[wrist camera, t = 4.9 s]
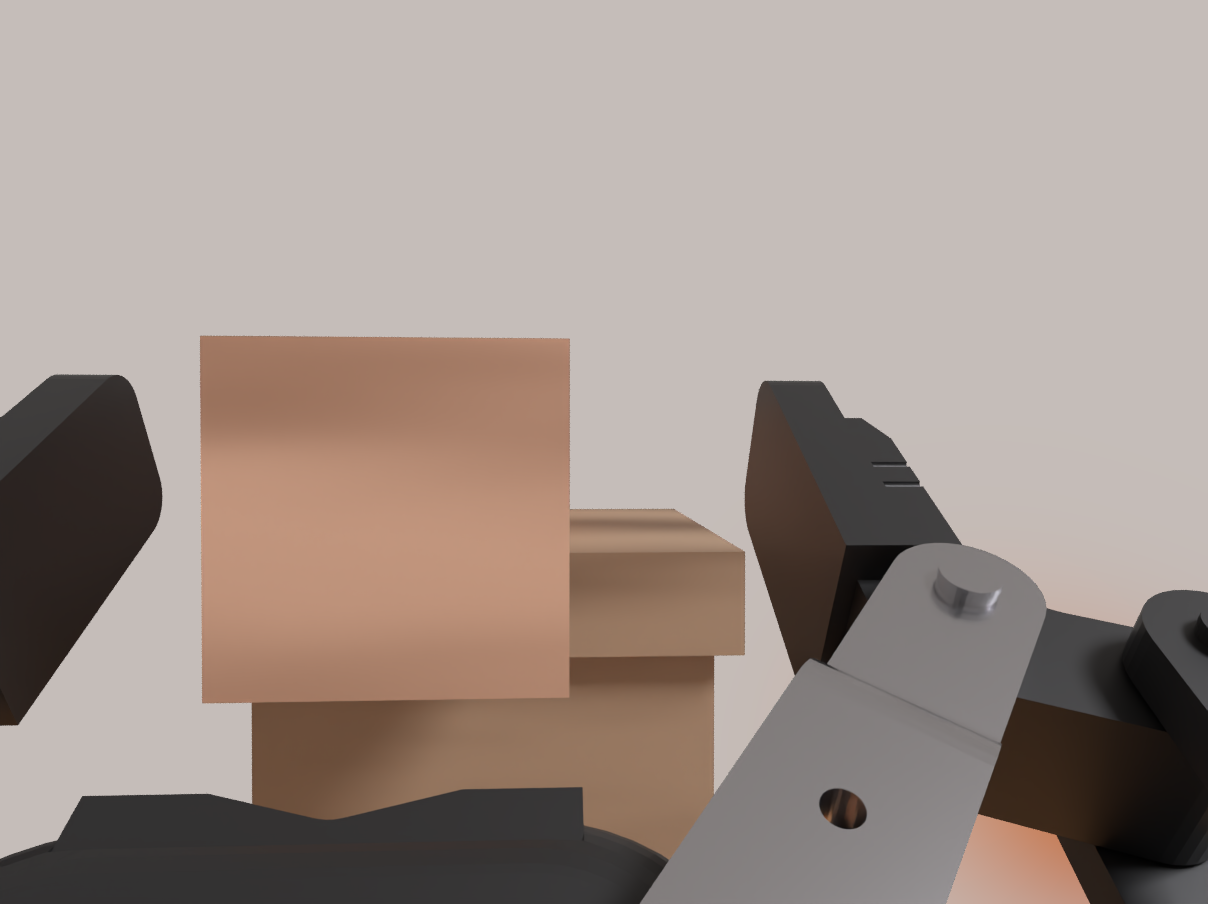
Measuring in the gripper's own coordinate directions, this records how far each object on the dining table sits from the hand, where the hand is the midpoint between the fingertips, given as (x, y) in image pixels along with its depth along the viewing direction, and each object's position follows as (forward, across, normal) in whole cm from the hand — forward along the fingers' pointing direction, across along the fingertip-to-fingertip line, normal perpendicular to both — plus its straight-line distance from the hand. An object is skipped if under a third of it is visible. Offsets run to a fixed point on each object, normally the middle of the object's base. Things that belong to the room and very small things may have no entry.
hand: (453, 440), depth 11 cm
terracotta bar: (+5, 0, +5) cm, 7 cm away
